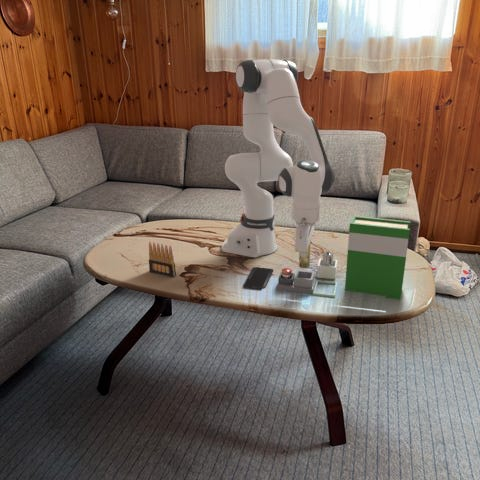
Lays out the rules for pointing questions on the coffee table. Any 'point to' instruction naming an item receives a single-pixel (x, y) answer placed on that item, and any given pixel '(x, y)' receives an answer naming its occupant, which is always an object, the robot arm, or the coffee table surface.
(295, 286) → the grey socket holder
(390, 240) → the hardback book
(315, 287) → the pale green rectangular frame
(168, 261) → the ammunition clip
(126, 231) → the coffee table surface
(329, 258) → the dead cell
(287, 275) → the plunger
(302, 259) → the cell
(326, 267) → the white square bin
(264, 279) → the phone
